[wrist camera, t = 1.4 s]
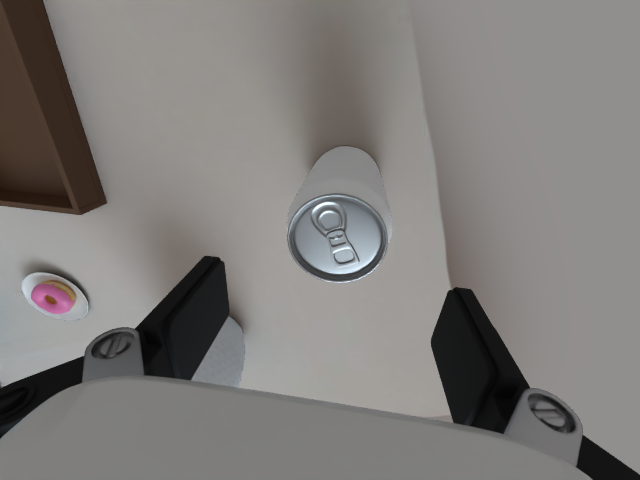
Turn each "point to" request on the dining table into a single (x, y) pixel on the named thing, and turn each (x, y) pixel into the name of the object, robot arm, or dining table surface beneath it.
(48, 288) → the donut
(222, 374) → the mug
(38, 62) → the tray
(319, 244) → the can
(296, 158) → the dining table surface
